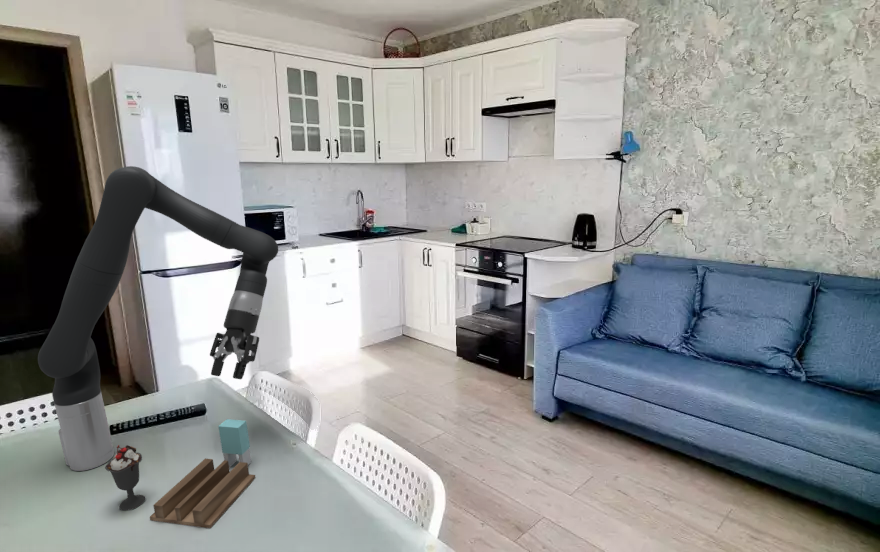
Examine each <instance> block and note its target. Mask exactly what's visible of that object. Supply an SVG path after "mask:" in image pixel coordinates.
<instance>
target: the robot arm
mask: <svg viewBox="0 0 880 552" xmlns="http://www.w3.org/2000/svg"><path fill="white" fill-rule="evenodd" d="M145 209H146V210H147V209H148V210H151V211H153V212H156V213H159V214H161V215H163V216H166V217H168V218H169V219H171V220H173V221H175V222H177V223H178V224H180V225H181V226H183V227H184V228H186V229H187V230H189V231H191V232H193V233H194V234H195V235H197V236H199V237H201V238H202V239H204V240H206V241H209V242H211V243H213V244H215V245H217V246H219V247H221V248H223V249H226V250H236V251H239V252H241V253H242V256H241V262H240V271H239V274H238V278H237V281H236V284H235V288H234V291H233V294H232V296H231V298H230V301H229V305H228V308H227V312H226V315H225V319H224V321H223V328H224V329H225V330H226V331H225V333H220V332H217V333H216V334H215V337H214V340H213V344H212V345H211V349H210V353H209V356H210V357H212V359H213V364H212V367H211V372H210V375H211V376H215V377H221V374H222V371H223V367H224V364H225V360H226V358H228V356H230V355H232V354H233V353H234V354H235V355H236V359H237V362H236V363H235V367H234V371H233V374H232V378H233V379H236V380H242V379H243V377H244V375H245V372H246V368H247V365H248V364H249V363H250V362H252V363H253V362H254V361H255V360H256V356H257V351H258V347H259V342H260V337H259V336H256V335H253V334H255V333H256V330H257V327H258V323H259V319H260V317H261V316H260V315H261V311H262V307H263V301H264V295H265V294H266V293H265V292H266V289H267V284H268V278H267V272H268V268H269V267H268V266H269V264H270V262H272V261H273V260H274V259H275V258H276V257H277V256H278V253H279V246H278V243H277V241H276V240H275V238H273V237H272V236H271V235H269V234H266V233H265V232H263V231H260V230H257V229H254V228H251V227H248V226H244V225H241V224H240V223H237V222H236V221H233V219H230V218H228V217H227V216H224V215H222V214H220V213H218V212H216V211H214V210H211V209H210V208H207V207H206V206H204V205H201V204H199V203H196V202H195V201H193V200H191V199H189V198H187V197H185V196H184V195H181V194H180V193H178V192H177V191H175V190H173V189H172V188H170V187H169V186H167V185H166V184H164V183H163V182H162V181H160V180H158V179H157V178H156V177H155V176H153V175H152V174H150V172H148V171H147V170H145V169H144V168H141V167H138V166H132V165H130V166H123V167H119V168H116V169H115V170H113V171H112V172H111V173H110V174H109V175H108V177H107V178H106V181H105V184H104V187H103V192H102V197H101V201H100V205H99V208H98V212H97V217H96V219H95V221H94V224H93V226H92V228H91V230H90V231H89V233H88V235H87V237H86V239H85V241H84V243H83V246H82V247H81V250H80V252H79V254H78V256H77V258H76V261H75V264H74V266H73V269H72V272H71V274H70V276H69V277H70V278H69V280H68V284H67V286H66V289H65V291H64V295H63V299H62V301H61V305H60V309H59V312H58V315H57V317H56V319H55V322H54V324H53V325H52V327H51V329H50V331H49V333H48V335H47V337H46V339H45V341H44V342H43V344H42V345H41V347H40V349H39V352H38V355H37V363H38V366H39V369H40V370H41V372H43V373H44V375H46V376H47V377H50V378H53V379H54V385H53V390H52V392H51V393H52V401H53V403H54V407H55V412H56V416H57V421H58V426H59V429H58V432H57V434H58V436H59V440H60V444H61V448H62V453H63V456H64V460H65V461H64V462H65V465H66V466H68V467H69V468H70V470H71V471H75V472H83V471H87V470H92V469H95V468H97V467H100V466H102V465H104V464H106V463H107V462H109V461H110V460H112V459H113V458H114V456H115V450H114V445H113V440H112V436H111V430H110V426H109V422H108V416H107V412H106V408H105V403H104V400H103V395H102V390H101V368H100V362H99V358H98V352H97V348H96V345H95V342H94V340H93V339H92V337H91V336H92V333H93V330H94V328H95V327H96V326H95V325H96V324H97V323H98V320H99V319H100V317H101V316H102V315H103V312H104V311H105V310H106V308H107V306H108V305H109V303H110V302H111V299H112V298H113V296H114V294H115V293H116V290H117V289H118V286H119V284H120V282H121V280H122V277H123V274H124V271H125V269H126V266H127V262H128V257H129V253H130V246H131V240H132V236H133V233H134V231H135V228H136V225H137V223H138V221H140V220H139V219H140V217H141V215H142V213H143V212H144V210H145ZM216 350H217V351H216ZM250 352H251V353H250Z"/></svg>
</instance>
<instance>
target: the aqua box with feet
mask: <svg viewBox="0 0 880 552" xmlns="http://www.w3.org/2000/svg"><path fill="white" fill-rule="evenodd" d="M217 427H218V434H219V440H220V446H221V450H222V451H221V453H222V454H223V455H222V456H223V461H224V460H225V461H228V464H229V469H230V468H231V467H232V466H233V465H234V464H235V463H236V462H237V460H239V461H238V463H239V462H245V463H248V466H249V465H250V464H251V463H252V456H251V450H250V447H251V443H250V437H249V431H248V423H247V420H241V419H231V418H230V419H229V418H227V419H225V420H224V421H223V422H221V424H219V425H218V426H217ZM237 455H238V459H237Z"/></svg>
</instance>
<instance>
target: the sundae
mask: <svg viewBox="0 0 880 552" xmlns="http://www.w3.org/2000/svg"><path fill="white" fill-rule="evenodd" d="M142 460H143V455H142V454H141V453H140V452H137V448H136V447H134V446H130V445H128V444H127V445H125V447H120V444H118V445H117V446H116V452H115V453H114V456H113V457H112V458H111V459H110V460H109V461H107V462H108V463H107V464H106V465H105V467H104V469H105V470H106V471H108V472H110V475H112V478H113V481H114V484H115V485H116V487H117V489H119V490H122V491H126V493H127V497H126V498H125V499H123V500H122V501H121V502H120V503H119V505H118V508H119V510H121V511H125V512H127V511H132V510H134V509H137V508H138V507H141V505H143V504H144V503H145V501H146V499H147V498H146V495H144V494H140V493H139V494H135V492H134V488H135V487H136V486H137V485H138V483H139V482H140V463H141V462H142Z"/></svg>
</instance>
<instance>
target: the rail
mask: <svg viewBox="0 0 880 552" xmlns="http://www.w3.org/2000/svg"><path fill="white" fill-rule="evenodd" d="M255 479H256V474H250V471H249V465H248V463H245V462H239V461H238V463H237V464H236V465H235V466H234V467H233V468H232V469H231V470H230V468H229V464H228V461H225V460H224V459H223V461H222V462H221V463H220V464H218V466H216V467H215V465H214V460H213V458H207V457H206V458H204V459H202V461H201V462H199V463H198V464H197V465H196V466H195V467H193V468H192V470H190V471H189V472H188V473H187V474H186V475H185V476H184V477H182V479H181V480H179V481H178V482H177V483H176V484H175V485H174V486H173V487H172V488H171V489H169V490H168V491H167V492H166V493H165V494H164V495H163V496H162V497H160V498H159V499H158V500H157V501H156V502H155V503H154V504H153V505H152V506H153V511H154V512H152V514H151V515H149V521H154V522H160V523H168V524H174V525H175V524H176V525H184V526H189V527H198V528H203V529H211V528H212V527H213V526H214V525H215V524H216V523H217V522H218V521H219V519H220V518H221V517H222V516H223V515H224V514H225V513H226V511H228V509H229V508H230V507H231V506H232V505H233V504H234V503H235V502H236V500H237V499H238V498H239V497H240V496H241V495H242V494H243V493H244V491H246V489H247V488H248V487H249V486H250V485H251V484H252V482H253V481H254V480H255Z"/></svg>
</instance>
